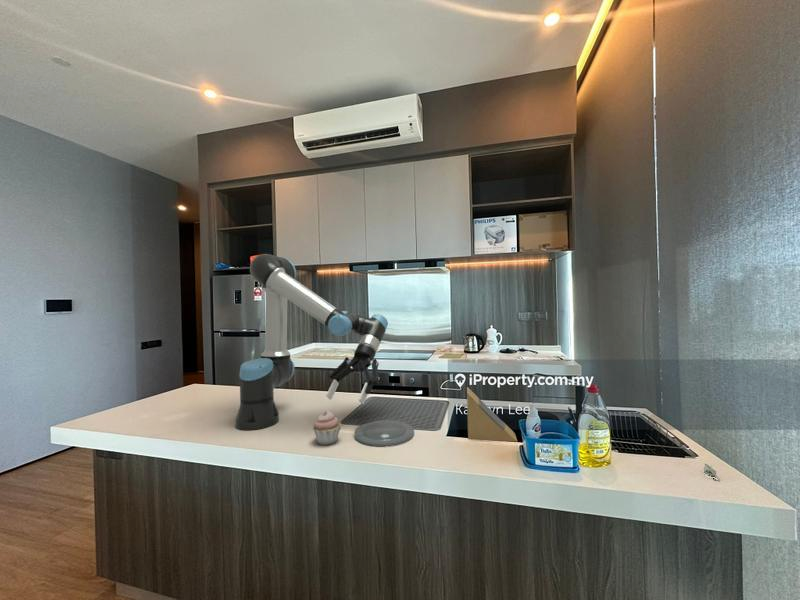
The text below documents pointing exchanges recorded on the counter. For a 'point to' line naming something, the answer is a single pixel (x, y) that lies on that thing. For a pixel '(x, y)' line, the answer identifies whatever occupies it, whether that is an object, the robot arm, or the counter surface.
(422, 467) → the counter surface
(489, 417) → the sandwich container
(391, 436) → the slate plate
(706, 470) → the small metal piece
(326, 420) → the cupcake
